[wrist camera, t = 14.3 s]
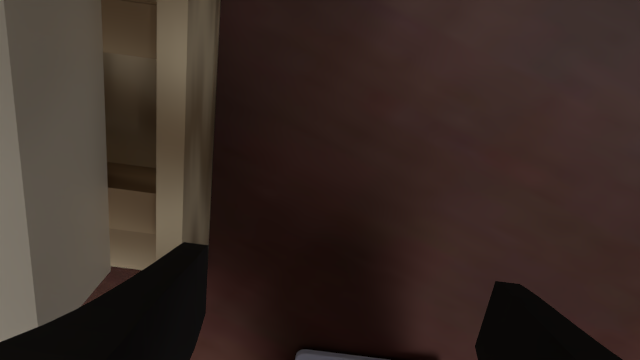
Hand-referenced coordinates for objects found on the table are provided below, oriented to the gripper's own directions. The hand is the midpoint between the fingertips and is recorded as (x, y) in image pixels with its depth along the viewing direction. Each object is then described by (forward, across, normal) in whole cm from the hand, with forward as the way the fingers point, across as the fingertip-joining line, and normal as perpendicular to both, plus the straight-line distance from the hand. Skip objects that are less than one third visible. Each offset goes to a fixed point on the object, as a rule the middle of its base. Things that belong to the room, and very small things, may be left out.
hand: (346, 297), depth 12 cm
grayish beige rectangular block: (+7, +11, -2) cm, 13 cm away
